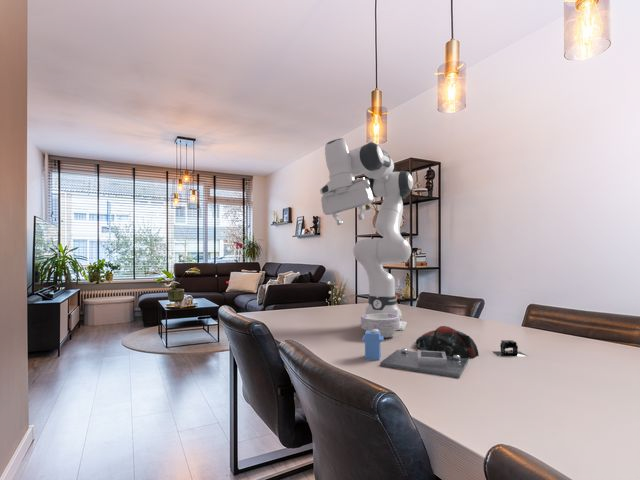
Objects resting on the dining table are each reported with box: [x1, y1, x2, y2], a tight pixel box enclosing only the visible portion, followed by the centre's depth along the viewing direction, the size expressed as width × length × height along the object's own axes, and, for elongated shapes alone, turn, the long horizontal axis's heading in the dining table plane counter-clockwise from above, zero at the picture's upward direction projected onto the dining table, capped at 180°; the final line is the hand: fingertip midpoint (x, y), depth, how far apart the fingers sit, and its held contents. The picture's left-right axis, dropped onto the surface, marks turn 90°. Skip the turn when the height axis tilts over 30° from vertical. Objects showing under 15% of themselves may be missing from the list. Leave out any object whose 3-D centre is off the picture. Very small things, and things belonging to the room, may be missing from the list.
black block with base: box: [491, 339, 528, 357], centre depth 122 cm, size 12×7×5 cm, turn 87°
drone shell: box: [415, 325, 479, 359], centre depth 128 cm, size 21×20×8 cm
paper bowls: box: [360, 313, 400, 339], centre depth 149 cm, size 15×15×8 cm
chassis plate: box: [379, 347, 470, 378], centre depth 111 cm, size 16×22×3 cm
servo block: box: [361, 329, 385, 361], centre depth 118 cm, size 4×6×9 cm
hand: (350, 222), depth 132 cm, fingers open, 8 cm apart
